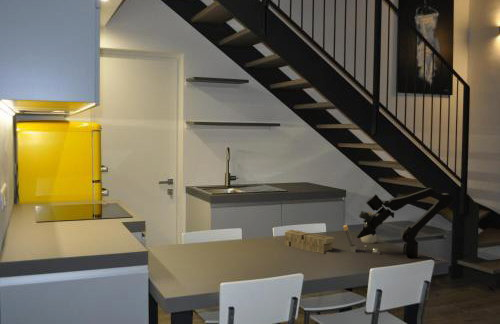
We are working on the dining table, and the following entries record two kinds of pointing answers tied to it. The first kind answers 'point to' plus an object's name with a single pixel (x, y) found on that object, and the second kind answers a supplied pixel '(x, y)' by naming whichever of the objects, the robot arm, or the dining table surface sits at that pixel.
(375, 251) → the switch panel
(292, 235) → the block tower
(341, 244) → the dining table surface
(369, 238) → the potion bottle
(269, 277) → the dining table surface
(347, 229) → the orange plate
